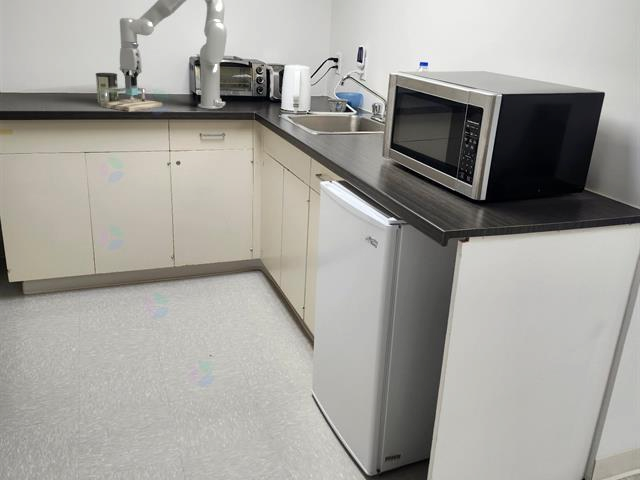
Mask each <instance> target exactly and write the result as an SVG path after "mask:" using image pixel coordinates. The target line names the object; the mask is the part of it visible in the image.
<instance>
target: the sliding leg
mask: <svg viewBox="0 0 640 480" xmlns="http://www.w3.org/2000/svg"><path fill="white" fill-rule="evenodd" d="M131 77H132V74H130V75H126V76H124V84H125V87H124V88H125V91H124V92H125V95H128V96H129V97H130V98H129V99H131V102H134V100H133V99H134V96H135V95H136V96H138V95H139V91H138V90H137V87H138V84H137V85H135V86H132V85H131Z"/></svg>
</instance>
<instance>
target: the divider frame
mask: <svg viewBox="0 0 640 480" xmlns="http://www.w3.org/2000/svg"><path fill="white" fill-rule="evenodd" d="M137 90H138V92H141V99H142V101H145V100H146V94H145V93H146V88H145V87H139V86H137ZM109 92H118V93H119V92H126V91H125V87H121V88H120V87H118V89H109V90H104V95H105V103H108V101H107V93H109Z"/></svg>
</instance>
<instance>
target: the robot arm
mask: <svg viewBox="0 0 640 480" xmlns="http://www.w3.org/2000/svg"><path fill="white" fill-rule="evenodd" d="M186 1H187V0H157V1H156V2H155V3H154V4H153V5H152V6H151V7H150V8H148V10H147V11H146V12H144V13H143V15H141V16H140V17H139V18H138V19H136V18H133V17H131V18H130V17H122V18H120V19H119V33H120V48H119V49H120V50H119V68H118V69H119V71H121V72H122V73H123V76H124V77H125V76H126V75H132V77H131V85H132V86H135V85H137V86H138V76H139V75H140V74H142V72H143V70H142V57H141V53H140V49H139V48H138V47H139V43H138V35H141V36H147V37H148V36H150V35H152V34H153V32H154V29H155V27H157V25H159V24H160V22H162V21H163V20H164V19H166V18H168V17H170V16H171V15H172V14H173V15H174V14H175V12H176V11H177V10H178V9H179V8H180V7H181V6H182V5H183V4H185V2H186ZM204 2H205V4H206V15H205V17H206V18H205V21H204V22H205V24H204V29H203V32H204V35H205V37H206V42H205V44H203V45H202V46H201V48H200V50H199V61H200V103H198V104H197V108H200V109H207V110H208V109H212V110H215V109H216V110H218V109H222V108H223V107H224V106H226V101H222V98H221V96H220V95H221V91H220V90H221V88H220V87H221V86H220V85H221V79H220V78H221V69H220V68H221V67H220V64H221V62H222V61H223V59H224V57H225V50H226V45H227V44H226V43H227V35H228V32H227V28H226V26H225V25H224V18H225V2H224V0H204Z"/></svg>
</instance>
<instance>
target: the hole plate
mask: <svg viewBox="0 0 640 480" xmlns="http://www.w3.org/2000/svg"><path fill="white" fill-rule="evenodd" d="M118 100H119V101H111V102H108V103H105V102H103V103H100V107H101V108H105V107H106V108H105V109H111V108H112V109H111V110H117V109H118V110H117V111H123V110H125V111H124V112H129V113H130V112H136V111H135V110H137V111H141V110H142V109H143V110H149V109H148V108H150V109H155V108H156V107H157V108H163V102H162V101H154V100H147V99H145V101H142V98H141V99H140V98H135V97H133V100H134V102H131V99H130V98H129V99H118Z"/></svg>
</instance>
